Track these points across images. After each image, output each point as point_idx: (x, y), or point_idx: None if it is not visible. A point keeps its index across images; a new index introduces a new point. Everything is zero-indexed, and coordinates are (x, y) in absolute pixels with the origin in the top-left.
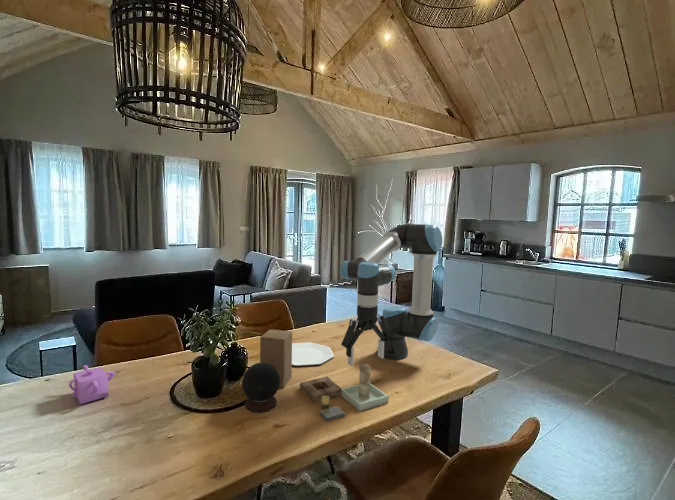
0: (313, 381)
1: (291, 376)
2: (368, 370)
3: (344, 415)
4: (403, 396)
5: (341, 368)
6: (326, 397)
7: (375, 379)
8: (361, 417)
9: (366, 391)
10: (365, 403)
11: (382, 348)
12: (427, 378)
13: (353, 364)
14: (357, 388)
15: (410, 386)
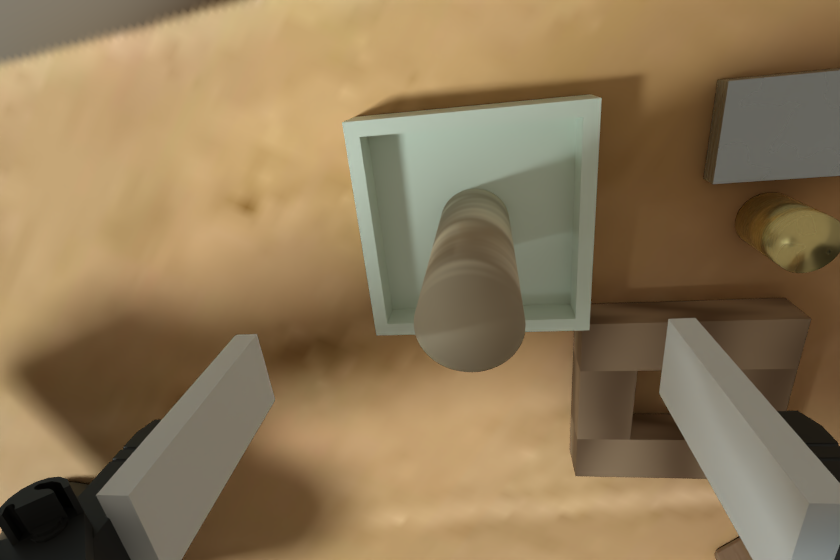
0: (685, 461)
1: (718, 556)
2: (463, 266)
3: (721, 80)
4: (226, 144)
5: (417, 524)
6: (802, 240)
7: (299, 372)
8: (624, 16)
9: (479, 205)
10: (546, 103)
11: (193, 413)
12: (3, 267)
13: (674, 326)
14: None
15: (135, 230)
